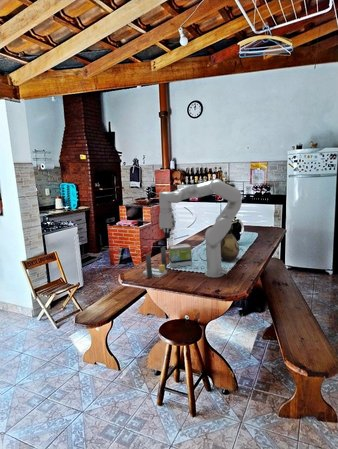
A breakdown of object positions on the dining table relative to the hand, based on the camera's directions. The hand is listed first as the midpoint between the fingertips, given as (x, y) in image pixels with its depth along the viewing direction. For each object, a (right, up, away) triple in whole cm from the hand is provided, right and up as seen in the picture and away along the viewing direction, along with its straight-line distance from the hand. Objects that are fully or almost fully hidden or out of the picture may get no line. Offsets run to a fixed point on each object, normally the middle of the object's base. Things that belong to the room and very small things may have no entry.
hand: (167, 238), depth 202 cm
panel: (-9, -25, +10) cm, 29 cm away
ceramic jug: (+46, -18, +29) cm, 57 cm away
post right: (-2, -23, +18) cm, 29 cm away
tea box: (+10, -21, +25) cm, 34 cm away
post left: (-12, -27, +4) cm, 30 cm away
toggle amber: (-4, -23, +8) cm, 25 cm away
